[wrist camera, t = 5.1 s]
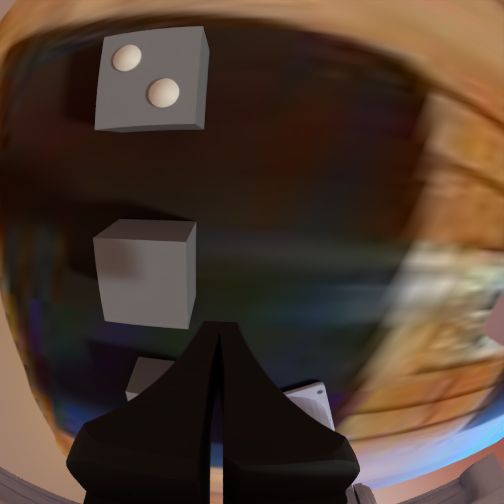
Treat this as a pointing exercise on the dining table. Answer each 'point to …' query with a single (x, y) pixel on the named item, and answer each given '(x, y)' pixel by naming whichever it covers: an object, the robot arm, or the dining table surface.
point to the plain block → (147, 272)
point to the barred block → (145, 374)
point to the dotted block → (153, 81)
